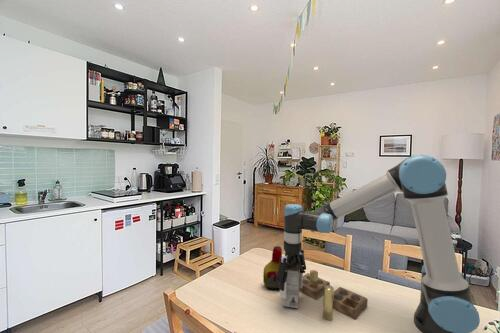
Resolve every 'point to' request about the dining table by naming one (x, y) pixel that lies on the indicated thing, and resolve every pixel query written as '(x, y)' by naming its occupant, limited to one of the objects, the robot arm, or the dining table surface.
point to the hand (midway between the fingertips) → (291, 291)
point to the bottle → (272, 270)
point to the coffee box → (292, 286)
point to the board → (313, 290)
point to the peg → (328, 303)
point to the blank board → (348, 302)
